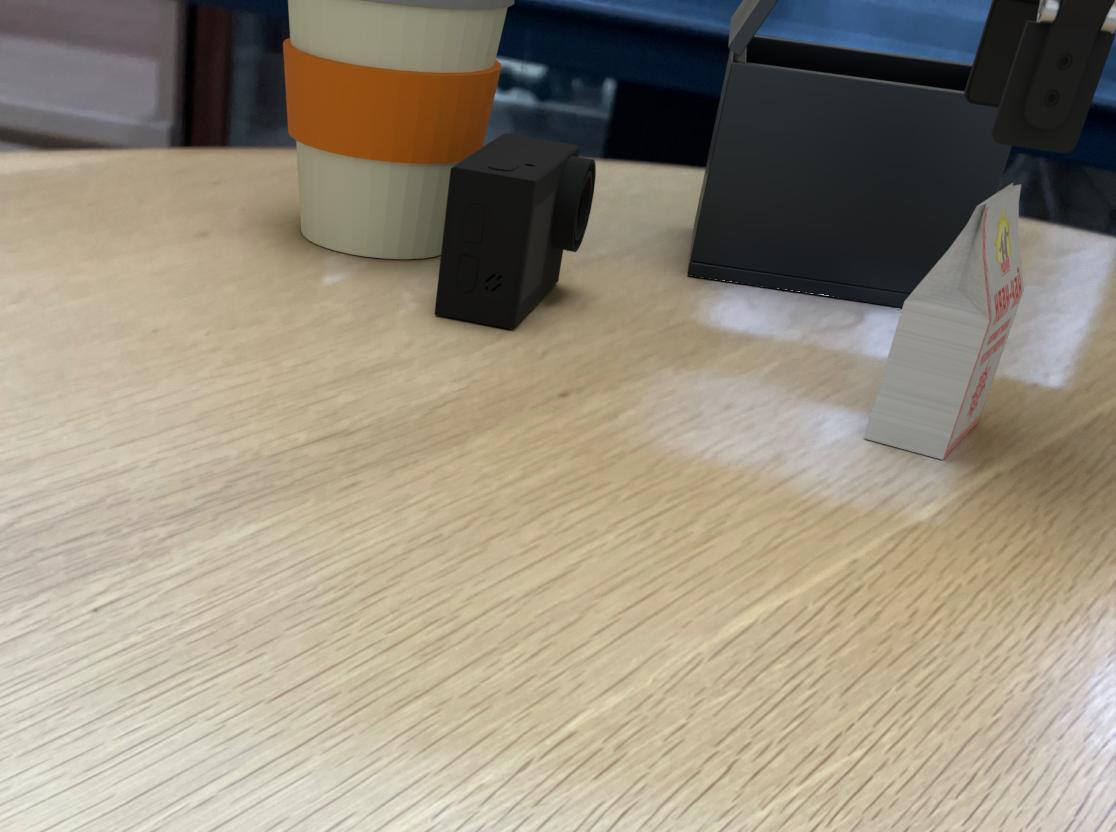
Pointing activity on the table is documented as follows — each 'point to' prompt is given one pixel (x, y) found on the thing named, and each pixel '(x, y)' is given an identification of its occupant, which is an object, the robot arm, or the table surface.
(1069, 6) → the robot arm
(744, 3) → the bin lid
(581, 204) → the digital camera
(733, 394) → the table surface
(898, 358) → the small milk carton
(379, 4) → the reusable coffee cup
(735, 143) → the bin
